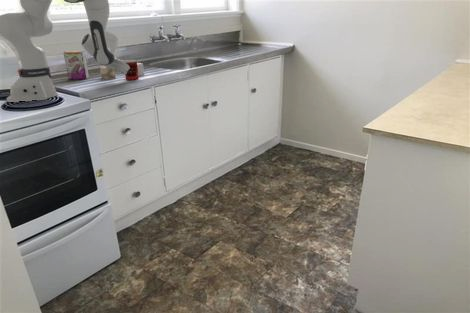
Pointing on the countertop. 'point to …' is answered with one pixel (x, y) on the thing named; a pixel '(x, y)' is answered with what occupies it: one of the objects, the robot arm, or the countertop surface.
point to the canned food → (132, 70)
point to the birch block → (107, 73)
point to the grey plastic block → (140, 69)
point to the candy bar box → (76, 64)
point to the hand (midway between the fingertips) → (125, 73)
